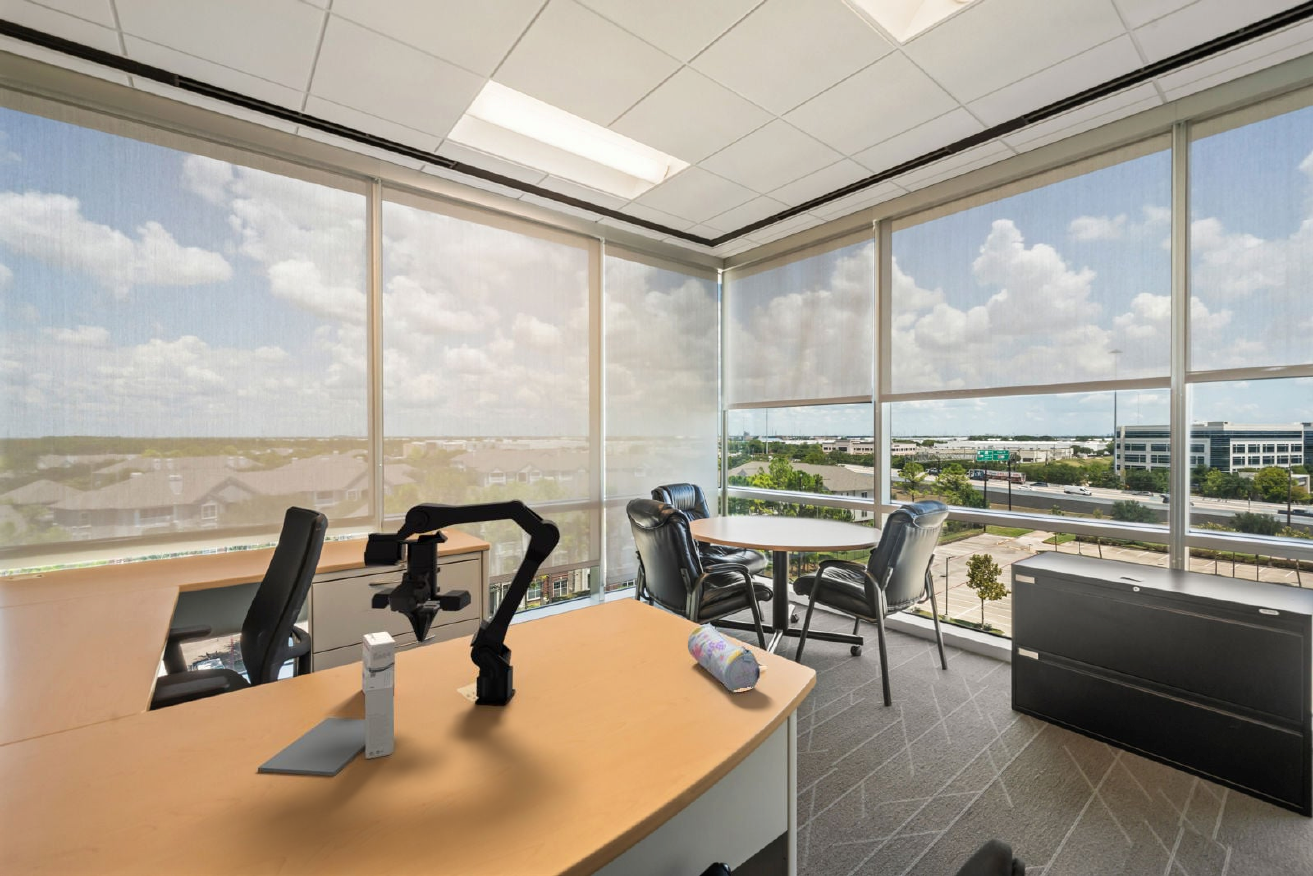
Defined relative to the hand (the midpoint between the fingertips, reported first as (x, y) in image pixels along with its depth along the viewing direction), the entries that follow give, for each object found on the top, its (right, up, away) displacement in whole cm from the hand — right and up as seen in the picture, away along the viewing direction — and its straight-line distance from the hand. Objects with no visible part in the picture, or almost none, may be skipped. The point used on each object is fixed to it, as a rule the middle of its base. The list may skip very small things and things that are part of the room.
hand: (421, 641), depth 108 cm
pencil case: (+63, -14, +15) cm, 67 cm away
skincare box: (0, -12, -16) cm, 20 cm away
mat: (-9, -12, -15) cm, 22 cm away
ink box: (-11, -13, +5) cm, 18 cm away
